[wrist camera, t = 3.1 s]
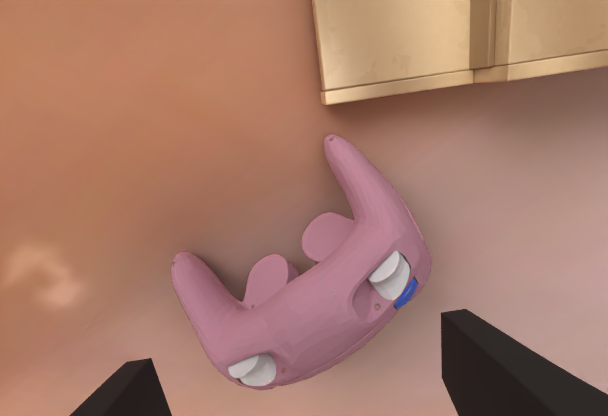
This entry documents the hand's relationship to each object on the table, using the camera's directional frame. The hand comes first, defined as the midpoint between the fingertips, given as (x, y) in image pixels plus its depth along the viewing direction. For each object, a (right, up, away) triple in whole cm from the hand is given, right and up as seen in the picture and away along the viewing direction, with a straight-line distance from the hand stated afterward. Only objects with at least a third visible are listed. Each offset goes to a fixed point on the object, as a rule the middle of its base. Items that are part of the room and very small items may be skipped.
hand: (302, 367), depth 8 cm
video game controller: (-1, +3, +8) cm, 8 cm away
